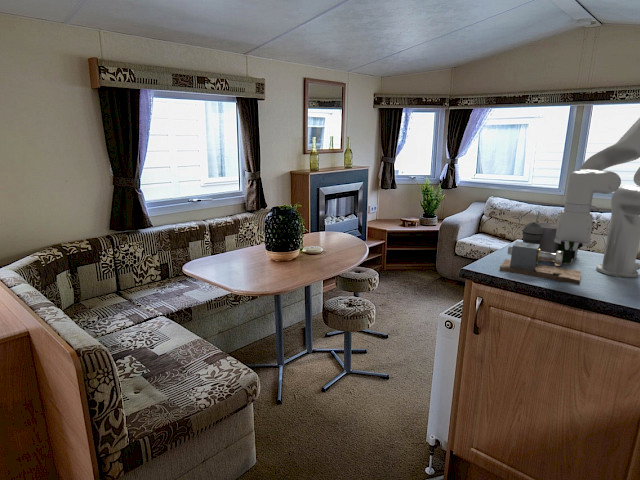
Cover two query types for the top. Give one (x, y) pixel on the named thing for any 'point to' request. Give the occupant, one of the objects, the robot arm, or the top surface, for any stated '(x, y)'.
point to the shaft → (546, 256)
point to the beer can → (561, 248)
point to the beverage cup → (532, 232)
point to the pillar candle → (548, 238)
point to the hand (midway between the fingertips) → (568, 260)
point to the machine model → (536, 265)
